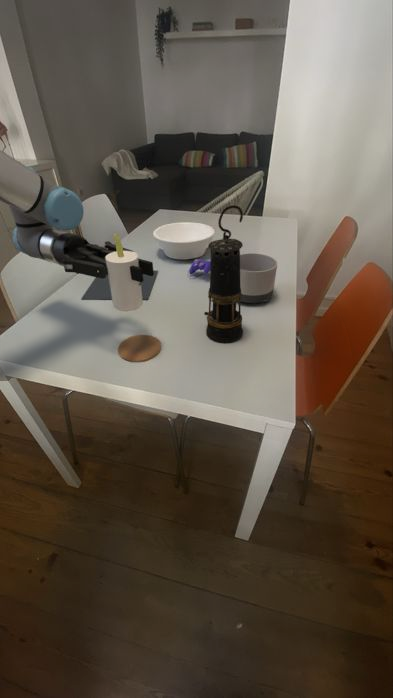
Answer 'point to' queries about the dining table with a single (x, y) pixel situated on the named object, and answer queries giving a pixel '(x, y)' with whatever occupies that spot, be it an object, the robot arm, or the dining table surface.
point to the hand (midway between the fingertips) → (146, 272)
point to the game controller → (200, 266)
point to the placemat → (103, 292)
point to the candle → (123, 278)
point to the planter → (257, 277)
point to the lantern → (225, 288)
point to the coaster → (139, 348)
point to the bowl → (184, 239)
